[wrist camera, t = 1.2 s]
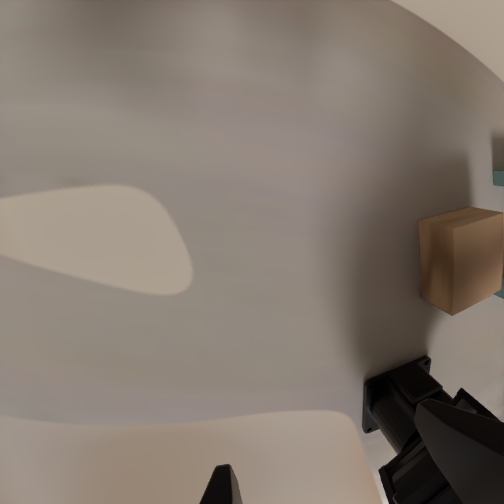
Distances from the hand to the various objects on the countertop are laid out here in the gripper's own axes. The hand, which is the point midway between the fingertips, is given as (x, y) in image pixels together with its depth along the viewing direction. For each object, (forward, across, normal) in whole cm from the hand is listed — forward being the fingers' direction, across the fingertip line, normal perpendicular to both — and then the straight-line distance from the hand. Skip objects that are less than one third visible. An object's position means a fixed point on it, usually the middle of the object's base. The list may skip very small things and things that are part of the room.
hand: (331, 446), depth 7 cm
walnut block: (+12, -15, 0) cm, 19 cm away
